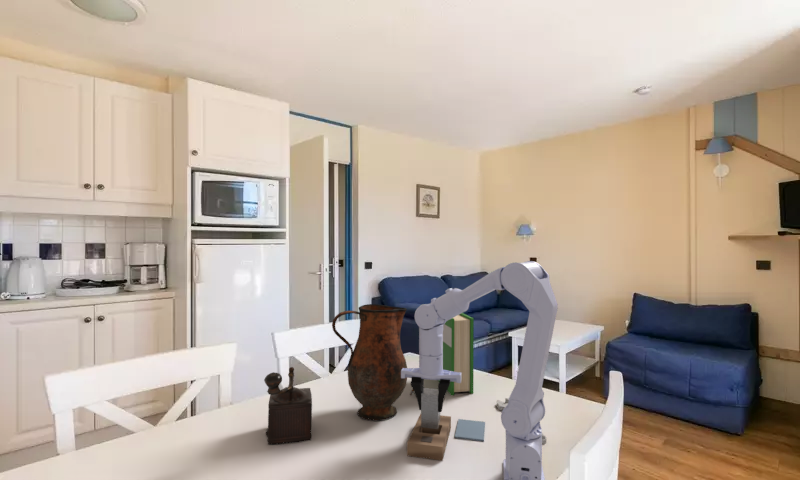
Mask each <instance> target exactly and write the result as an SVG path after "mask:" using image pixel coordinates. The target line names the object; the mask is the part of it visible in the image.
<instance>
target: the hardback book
mask: <svg viewBox="0 0 800 480" xmlns="http://www.w3.org/2000/svg"><path fill="white" fill-rule="evenodd" d="M474 320H475V318H474V317H471V316H470V315H468V314H467V313H465V312H463V313H461V314H459V315H457V316H455V317H453V318H451V319H450V320H448V321H446V323H445V324H444V327H443V370H448V371H453V372H460V373H461V383H456V382H452V381H451V382H450V385H449V387H448V390H447V392H448V393H449V394H450V396H455V393H461V392H468V393H469V394H471V395H472V394H474V361H475V360H474V358H475V357H474V351H475V349H474V338H475V337H474V330H475V329H474V326H475V325H474V324H475V323H474V322H475V321H474ZM437 381H438V383H439V382H440V380H437Z"/></svg>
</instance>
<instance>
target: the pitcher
mask: <svg viewBox="0 0 800 480" xmlns="http://www.w3.org/2000/svg"><path fill="white" fill-rule="evenodd" d="M407 310H408V309H407V308H406V307H398V306H389V305H385V304H373V303H369V304H363V305H360V306H359V307H358V310H357V311H356V310H345V311H342V312H341V311H340V312H339V313H337V314H336V315H335V316H334V317H333V319H332V324H331V326H332V331H333V333H334V335H336V336H337V337H338V338H339V339H340V340H341V341H342V342H343V343H344V344H345V345H346V346H347V347H348V348H349V350H350V357H349V360H348V365H347V381H348V386H349V388H350V390H351V393H352V394H353V397H354V398H355V399H356V401H358V403H359V404H360V405H361V407H360V408H358V410H357V412H356V413H357V416H358V417H359V418H360V419H363V420H367V421H373V422H374V421H385V420H386V421H387V420H390V419H392V418H394V417H396V415H397V413H398V409H397V408H396V407H395V406H394V405H393V404H394V403H395V402H396V401H397V400H398V399H399V398H400V397H401V395H402V393H403V392H404V390H405V388H406V387H407V381H408V378H401V370H402V369H403V368H408V366H407V361H406V358H405V355H404V353H403V350H402V345H401V330H402V329H401V328H402V325H403V320H404V316H405V314H406V312H407ZM348 314H356V315H358V317H359V328H358V329H359V331H358V338H357V340H356V343H355V346H354V349H353V347H352V346H351V343H350V342H349V341H348V340H347V339H346V338H344V336H342V335H341V333H339V332H338V330H337V329H336V328H337V327H336V323H337V320H338V319H339V318H340V317H342V316H344V315H348Z"/></svg>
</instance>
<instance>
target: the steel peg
mask: <svg viewBox="0 0 800 480" xmlns="http://www.w3.org/2000/svg"><path fill="white" fill-rule="evenodd" d="M438 404H439V391H438V388H428V387H425V388H424V389H423V391H422V393H421V410H420V411H421V413H420V414H421V427H422V428H431V429H438V427H439V424H440V415H441V412H438Z"/></svg>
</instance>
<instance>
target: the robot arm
mask: <svg viewBox="0 0 800 480" xmlns="http://www.w3.org/2000/svg"><path fill="white" fill-rule="evenodd" d="M495 290H498V291H504V290H506V291H507V292H509V293H510V294H511V295H513V296H514V298H517V299H518V300H520V301H521V302H522V304H523V305H524V306H525V307H526V309H527V310H528V311H529V313H528V318H527V322H526V328H525V333H524V334H525V335H524V338H523V339H524V340H523V344H522V349H521V354H520V360H519V365H518V370H517V376H516V379H515V380H516V381H515V384H514V387H513V389H512V391H511V393H510V395H509V397H508V398H509V402H508V404H507V406H506V407H505V408H504V409H503V411H502V410H501V413H500V414H501V415H500V421H501V425H502V426H503V428H504V429H505V458H503V461H502V462H503V480H546V477H545V473H544V467H543V455H542V454H543V444H542V434H543V429H542V426H541V421H542V420H543V419H544V417H545V415H546V406H545V402H544V397H545V392H544V390H543V384H544V378H545V372H546V370H547V369H546V368H547V362H548V359H549V353H550V349H551V343H552V338H553V333H554V329H555V328H554V327H555V324H556V317H557V315H558V314H557V312H558V309H559V307H558V305H559V304H558V301H557V298H556V296H555V292H554V290H553V286H552V285H551V281H550V274H549V273H548V272H547V270H545V268H544V267H543V266H542V265H541V264H540V263H538V262H536V261H533V260H527V261H523V262H510V263H508V264H507V265H505V266H503V267H499V268H497V269H495V270H492V271H491V272H489V273H488V274H486V275H484V276H483V277H481V278H480V279H478V280H476V281H475V282H473V283H472V284H470V285H468V286H467V287H465V288H464V289H460V288H457V287H454V288H453V287H451V288H450V287H449V288H447V289H446V290H445V291H444V292H445V293H444V294H442V295H441V296H439V297H433V298H431V299H430V303H425V304H424V303H423V304H420V305H419V306H418V307H417V308H416V310H415V312H414V321H415V323H416V324H417V326H418V332H419V333H418V334H419V335H418V338H419V339H418V351H419V353H418V354H419V356H418V359H419V360H418V362H419V363H418V364H419V365H418V367H409V368H408V367H407V368H403V369H402V370H401V378H407V379H411V381H410V386H411V388H412V389H413V390H414V392H413V393H415V394H414V395H415V397H416V400H417V404H418V408H419V409H418V410H419V411H421V393H422V391H423V387H425V384H424V382H425V380H429V381H430V380H431V381H438V380H440V382H439V381H438V385H437V386H438V387H437V389H438V391H439V404H438V412H440V413H442V411H443V406H444V400H445V398H446V394H447V392H448V391H447V390H448V387H449V385H450V382H451V381H452V382H456V383H461V373H460V372H453V371H448V370H443V327H444V324H445V323H446V321H448V320H450V319H451V318H453V317H455V316H457V315H459V314H461V313H465V312H467V311H468V310H469V308H470V303H472V302H474V301H476V300H478V299H479V298H482V297H483V296H486V295H488V294H489V293H491V292H494V291H495Z"/></svg>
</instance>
